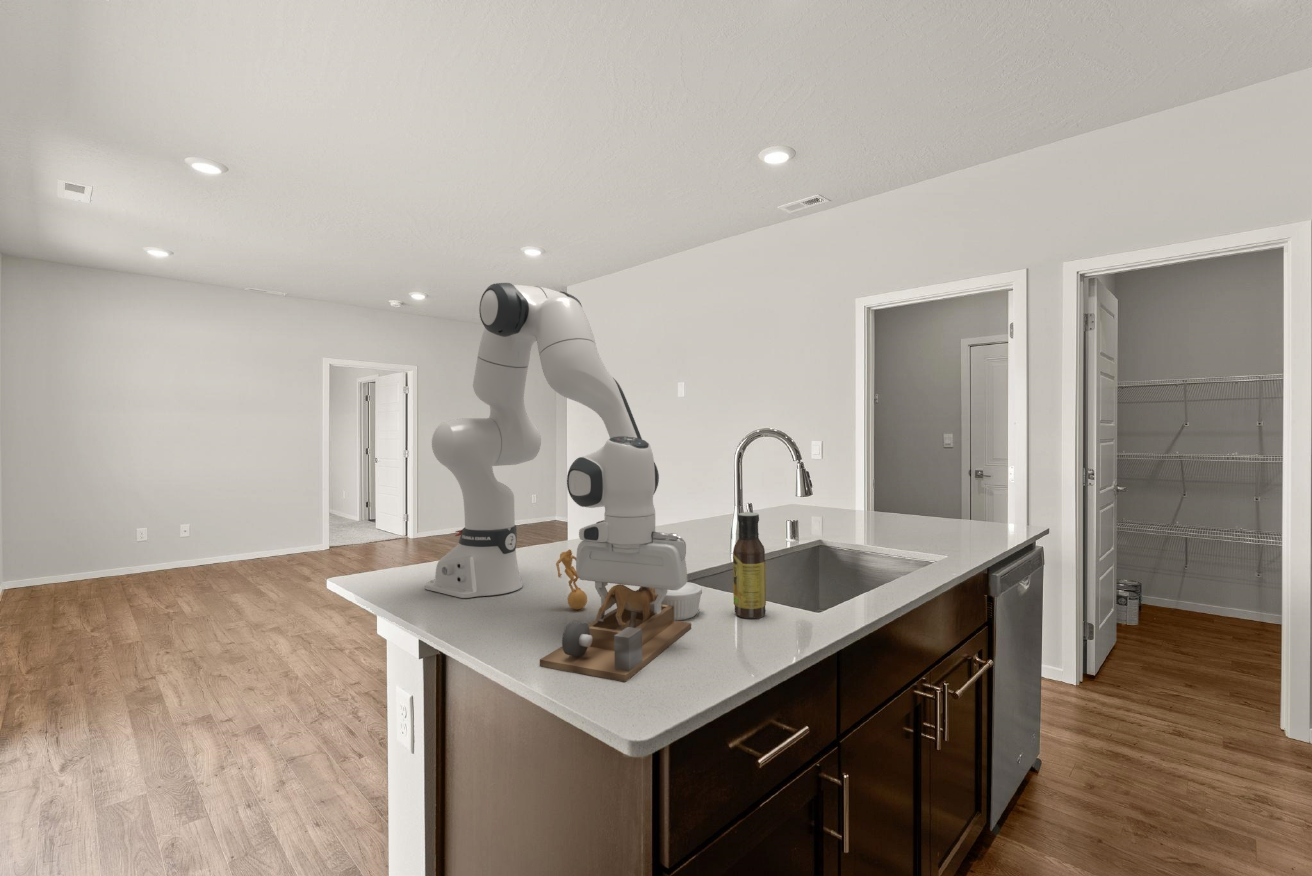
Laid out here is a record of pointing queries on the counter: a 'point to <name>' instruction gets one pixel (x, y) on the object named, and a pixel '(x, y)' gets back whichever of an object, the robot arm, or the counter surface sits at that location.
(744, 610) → the sauce bottle
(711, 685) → the counter surface
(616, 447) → the robot arm
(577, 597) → the figurine
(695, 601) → the ramekin
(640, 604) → the lion figurine
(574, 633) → the wheel
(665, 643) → the chassis
